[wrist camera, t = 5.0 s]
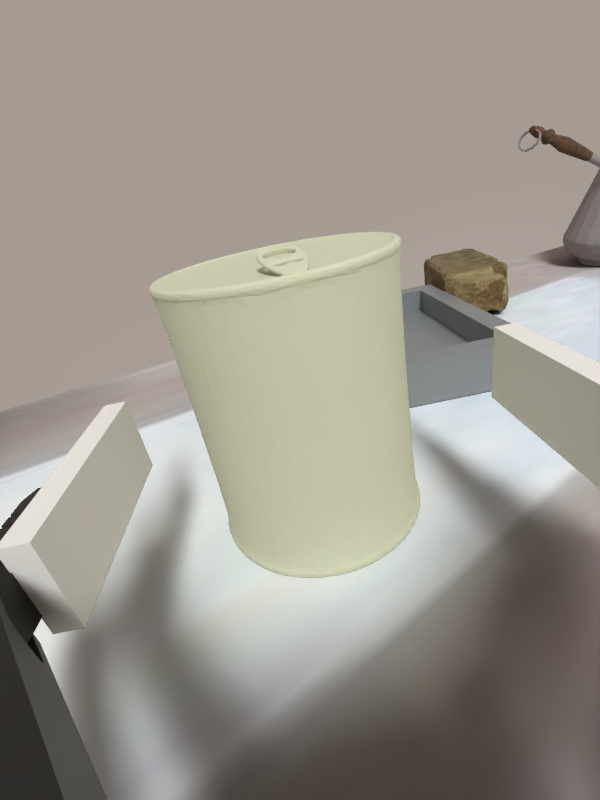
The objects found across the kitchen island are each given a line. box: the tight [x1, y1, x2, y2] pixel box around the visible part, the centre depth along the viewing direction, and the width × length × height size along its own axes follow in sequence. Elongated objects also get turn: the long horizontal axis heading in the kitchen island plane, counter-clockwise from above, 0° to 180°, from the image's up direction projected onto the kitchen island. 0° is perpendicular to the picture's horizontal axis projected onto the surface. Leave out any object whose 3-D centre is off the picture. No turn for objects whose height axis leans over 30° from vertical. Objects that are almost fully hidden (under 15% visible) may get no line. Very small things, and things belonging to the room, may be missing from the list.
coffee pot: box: [518, 126, 600, 266], centre depth 43 cm, size 21×12×15 cm, turn 113°
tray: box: [402, 285, 511, 408], centre depth 34 cm, size 20×18×3 cm
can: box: [149, 232, 420, 578], centre depth 17 cm, size 9×9×12 cm
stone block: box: [424, 249, 508, 312], centre depth 42 cm, size 6×12×5 cm, turn 176°
